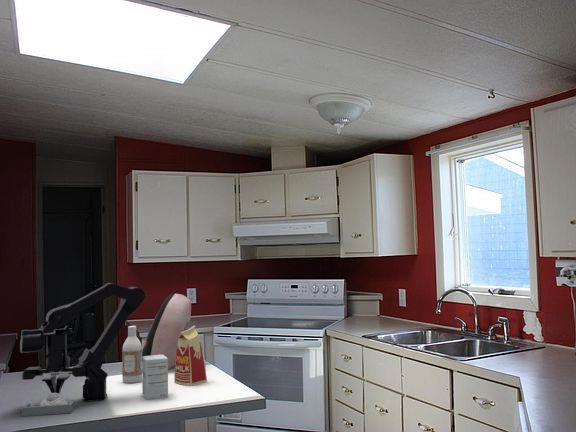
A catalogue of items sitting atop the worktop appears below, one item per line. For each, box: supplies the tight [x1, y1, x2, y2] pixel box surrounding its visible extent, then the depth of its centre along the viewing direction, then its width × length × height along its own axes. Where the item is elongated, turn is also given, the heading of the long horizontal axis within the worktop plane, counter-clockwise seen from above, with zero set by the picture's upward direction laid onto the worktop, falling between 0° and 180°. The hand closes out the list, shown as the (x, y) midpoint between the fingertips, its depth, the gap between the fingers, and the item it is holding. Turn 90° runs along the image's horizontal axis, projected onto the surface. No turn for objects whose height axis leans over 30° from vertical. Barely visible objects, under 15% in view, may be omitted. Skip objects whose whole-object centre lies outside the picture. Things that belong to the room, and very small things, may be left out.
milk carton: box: [173, 325, 208, 386], centre depth 198 cm, size 9×9×20 cm
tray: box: [21, 399, 76, 417], centre depth 163 cm, size 14×5×2 cm, turn 99°
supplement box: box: [141, 355, 169, 400], centre depth 180 cm, size 7×7×13 cm
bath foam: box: [121, 325, 143, 384], centre depth 201 cm, size 7×7×20 cm
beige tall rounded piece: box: [142, 293, 192, 370], centre depth 225 cm, size 22×20×30 cm
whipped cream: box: [39, 392, 69, 406], centre depth 168 cm, size 8×7×5 cm
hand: (56, 399), depth 171 cm, fingers closed
